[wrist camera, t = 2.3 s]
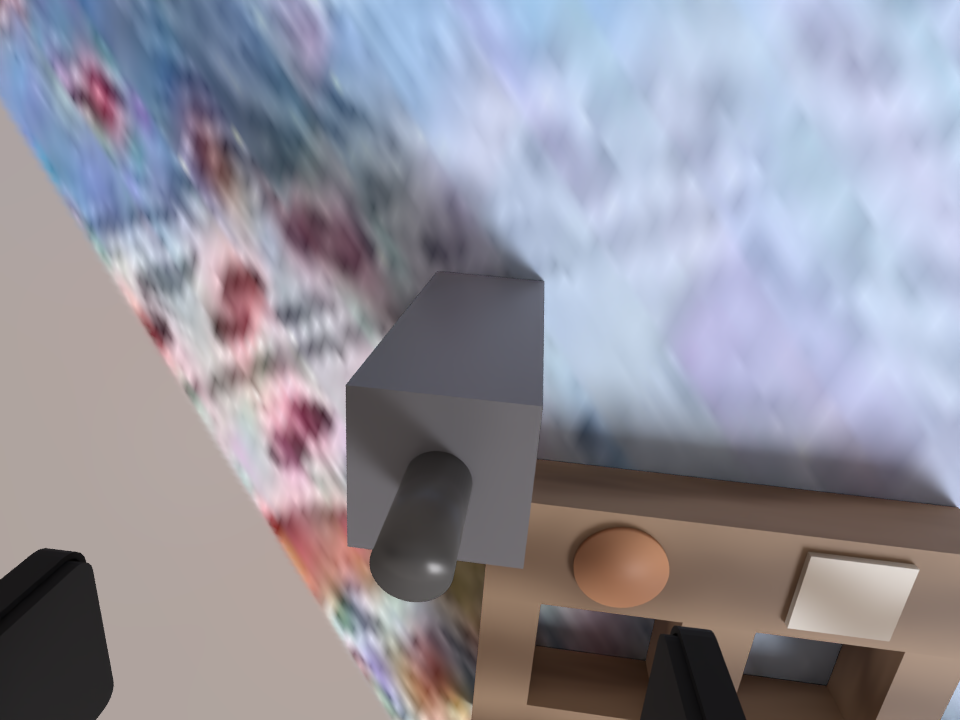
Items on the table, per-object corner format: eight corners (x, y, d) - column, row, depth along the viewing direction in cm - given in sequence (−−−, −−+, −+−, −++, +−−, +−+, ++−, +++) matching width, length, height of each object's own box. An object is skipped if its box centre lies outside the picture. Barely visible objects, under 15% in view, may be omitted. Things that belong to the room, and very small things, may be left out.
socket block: (498, 454, 27) (491, 502, 24) (957, 507, 26) (1023, 566, 22) (474, 707, 33) (466, 776, 29) (849, 761, 31) (887, 841, 28)
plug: (437, 271, 24) (291, 451, 10) (544, 281, 24) (542, 480, 10) (432, 370, 26) (301, 641, 12) (533, 380, 26) (517, 672, 12)
